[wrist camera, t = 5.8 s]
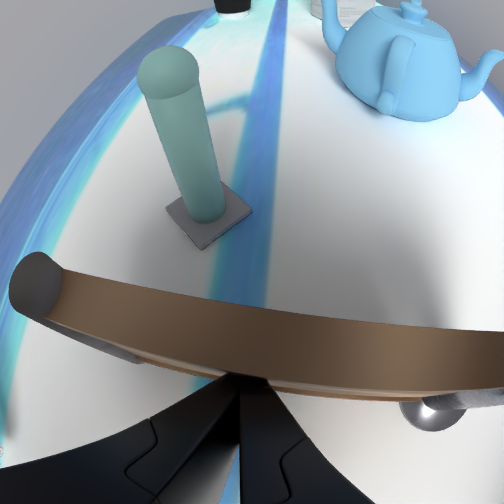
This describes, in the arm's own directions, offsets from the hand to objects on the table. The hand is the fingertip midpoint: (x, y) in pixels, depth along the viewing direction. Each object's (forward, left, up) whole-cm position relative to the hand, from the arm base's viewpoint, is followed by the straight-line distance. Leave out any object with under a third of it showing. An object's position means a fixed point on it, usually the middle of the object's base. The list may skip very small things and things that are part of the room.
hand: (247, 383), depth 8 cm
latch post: (+5, +10, -7) cm, 14 cm away
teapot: (+29, +11, -8) cm, 32 cm away
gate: (+1, +1, -7) cm, 7 cm away
